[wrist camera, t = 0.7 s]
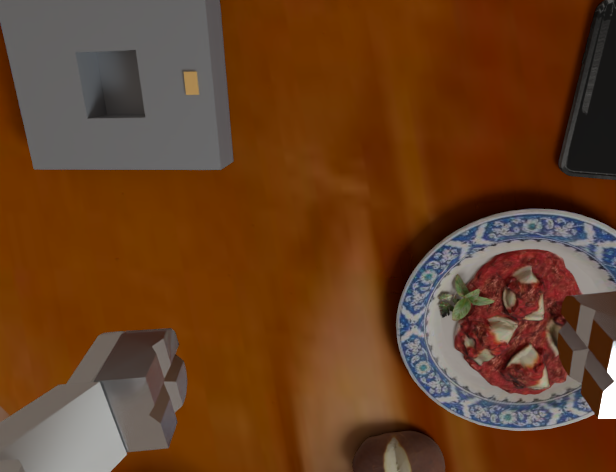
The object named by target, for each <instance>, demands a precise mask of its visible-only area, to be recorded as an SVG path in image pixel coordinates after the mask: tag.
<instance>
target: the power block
mask: <svg viewBox="0 0 616 472" xmlns="http://www.w3.org/2000/svg"><path fill="white" fill-rule="evenodd" d="M0 23H1V27H2V31H3V36H4V40H5V45H6V49H7V53H8V58H9V62H10V67H11V71H12V75H13V80H14V84H15V89H16V93H17V97H18V102H19V106H20V110H21V115H22V119H23V124H24V128H25V132H26V137H27V141H28V146H29V150H30V154H31V159H32V163H33V168H34V169H101V170H222V169H223V168H224V167H226V166H227V165H229V164H230V163H232V162H233V151H232V139H231V127H230V115H229V103H228V92H227V80H226V68H225V56H224V44H223V33H222V21H221V9H220V0H0Z"/></svg>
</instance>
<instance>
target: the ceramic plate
mask: <svg viewBox="0 0 616 472" xmlns="http://www.w3.org/2000/svg"><path fill="white" fill-rule="evenodd" d="M612 291H616V230H614V229H613V228H611V227H609V226H607V225H606V224H604V223H601V222H599V221H597V220H595V219H592V218H589V217H586V216H583V215H580V214H576V213H572V212H567V211H561V210H554V209H523V210H514V211H507V212H503V213H498V214H494V215H491V216H488V217H485V218H482V219H479V220H477V221H474V222H472V223H469V224H468V225H466V226H464V227H462V228H460V229H458V230H456V231H455V232H453V233H452V234H450V235H449V236H447V237H446V238H444V239H443V240H442V241H440V242H439V243H438V244H437V245H435V246H434V247H433V248H432V249H431V250H430V251H429V252H428V253H427V254H426V255H425V256H424V258H423V259H422V260H421V261H420V262H419V263H418V265H417V266H416V268H415V269H414V271H413V272H412V274H411V275H410V277H409V279H408V281H407V283H406V285H405V287H404V290H403V292H402V295H401V298H400V302H399V306H398V311H397V320H396V330H397V341H398V346H399V350H400V353H401V356H402V359H403V361H404V364H405V366H406V368H407V369H408V371H409V373H410V375H411V377H412V378H413V379H414V381H415V382H416V383H417V385H418V386H419V387H420V388H421V389H422V390H423V391H424V392H425V393H426V394H427V395H428V396H429V397H430V398H431V399H432V400H433V401H435V402H436V403H437V404H438V405H440V406H441V407H443V408H444V409H446V410H447V411H449V412H451V413H453V414H455V415H457V416H459V417H461V418H463V419H466V420H468V421H471V422H474V423H476V424H479V425H483V426H487V427H493V428H498V429H506V430H514V431H522V430H540V429H550V428H555V427H559V426H563V425H566V424H570V423H573V422H576V421H579V420H582V419H585V418H587V417H589V416H591V415H593V414H595V413H594V412H593V411H592V409H591V408H590V406H589V405H588V403H587V402H586V400H585V399H584V398H583V396H582V395H581V386H582V384H581V383H580V382H578V381H576V380H574V379H572V378H571V377H569V376H568V374H567V372H566V371H565V369H564V368H563V366H562V363H561V361H560V358H559V353H558V347H557V341H558V331H559V330H560V329H561V328H562V327H563V326H564V325H565V324H566V323H567V320H566V319H565V318H564V317H563V315H562V314H561V309H562V303H563V301H564V299H565V297H566V296H571V295H581V294H592V293H602V292H612Z"/></svg>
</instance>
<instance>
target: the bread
mask: <svg viewBox="0 0 616 472" xmlns="http://www.w3.org/2000/svg"><path fill="white" fill-rule="evenodd" d="M353 471H354V472H445V463H444V458H443V454H442V452H441V450H440V448H439V446H438V445H437V444H436V443H435V442H434V441H433V440H432V439H431V438H430V437H428V436H426V435H424V434H422V433H419V432H416V431H402V432H394V433H384V434H381V435H378V436H373V437H369V438H367V439H366V440H365V441H364V442H363V443H362V445H361V446H360V448H359V449H358V451H357V452H356V454H355V456H354V459H353Z"/></svg>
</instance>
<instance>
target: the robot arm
mask: <svg viewBox="0 0 616 472" xmlns="http://www.w3.org/2000/svg"><path fill="white" fill-rule="evenodd" d="M561 314H562V315H563V317H564V318H565V319H566V320H567V323H566V324H565V325H564V326H563V327H562V328H561V329H560V330H559V331H558V341H557V347H558V353H559V358H560V361H561V363H562V366H563V368H564V369H565V371H566V372H567V374H568V376H569V377H571V378H572V379H574V380H576V381H578V382H580V383H581V384H582V386H581V395H582V396H583V398H584V399H585V400H586V402H587V403H588V405H589V406H590V408H591V409H592V411H593V412H594V413H595V415H596V416H597V418H598V419H606V418H616V291H612V292H602V293H592V294H581V295H571V296H566V297H565V299H564V301H563V303H562V309H561ZM178 345H179V343H178V340H177V337H176V333H175V331H173V330H172V329H171V328H167V329H150V330H134V331H126V332H125V331H119V332H108V333H103V334H100V335H99V336H98V337H97V338H96V340H95V341H94V343H93V344H92V346H91V347H90V349H89V350H88V352H87V354H86V355H85V357H84V358H83V360H82V361H81V363H80V364H79V366H78V367H77V369H76V370H75V372H74V373H73V375H72V376H71V378H70V379H69V381H68V382H67V384H63V385H58V386H56V387H55V388H53V389H52V390H50V391H49V392H47V393H45V394H44V395H42V396H41V397H39V398H38V399H36V400H35V401H33V402H31V403H30V404H28V405H27V406H25V407H24V408H22V409H21V410H19V411H17V412H16V413H14V414H13V415H11V416H10V417H8V418H7V419H5V420H4V421H2V422H0V472H111V471H112V470H113V468H114V467H115V466H116V465H117V464H118V463H119V462H120V461H121V460H122V459H123V458H124V457H125V456H126V455H127V453H126V452H133V451H143V450H154V449H164V448H169V445H170V442H171V439H172V436H173V433H174V430H175V427H176V424H177V419H176V416H175V413H174V412H176V411H177V410H178V409H179V408H180V407H181V406H182V405H183V403H184V399H185V396H186V389H187V375H186V368H185V364H184V361H183V360H182V359H181V358H179V357H178V356H177V355H176V354H175V353H176V350H177V348H178Z"/></svg>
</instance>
